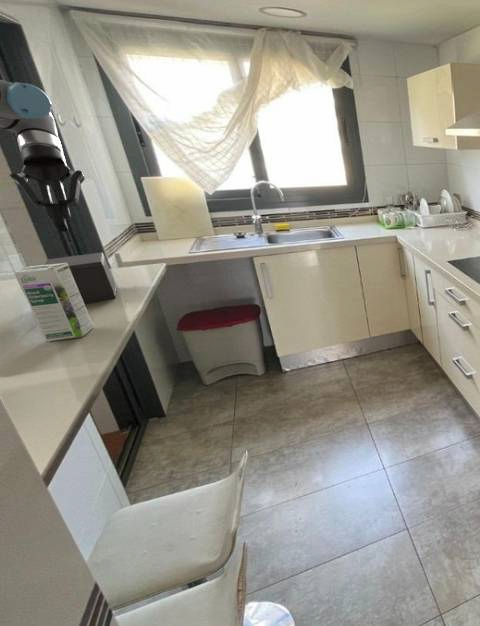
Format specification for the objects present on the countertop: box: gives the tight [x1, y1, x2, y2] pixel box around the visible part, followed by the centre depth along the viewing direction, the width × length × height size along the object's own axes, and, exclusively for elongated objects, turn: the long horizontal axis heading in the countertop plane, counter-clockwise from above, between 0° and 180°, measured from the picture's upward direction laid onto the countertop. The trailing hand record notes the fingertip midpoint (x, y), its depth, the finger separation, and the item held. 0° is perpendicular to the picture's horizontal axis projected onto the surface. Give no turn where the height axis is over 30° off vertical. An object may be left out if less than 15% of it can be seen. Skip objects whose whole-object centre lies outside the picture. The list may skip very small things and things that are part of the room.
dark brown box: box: [70, 255, 117, 304], centre depth 114 cm, size 12×10×9 cm
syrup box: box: [14, 263, 94, 343], centre depth 91 cm, size 6×6×14 cm
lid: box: [44, 251, 105, 270], centre depth 112 cm, size 12×10×1 cm
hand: (62, 228), depth 111 cm, fingers closed
